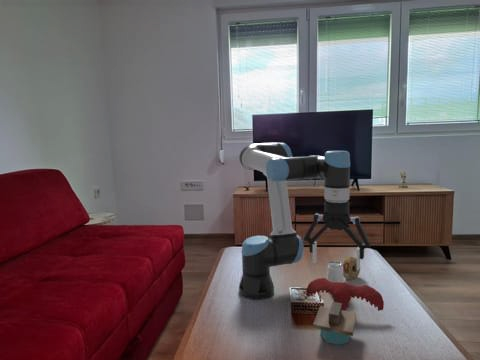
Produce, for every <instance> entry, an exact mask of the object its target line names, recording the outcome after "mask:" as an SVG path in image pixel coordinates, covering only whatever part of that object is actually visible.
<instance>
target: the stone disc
mask: <svg viewBox="0 0 480 360" xmlns="http://www.w3.org/2000/svg"><path fill="white" fill-rule="evenodd" d="M342 266H343V278H344V279H346V280H351V281H352V280H355V279H356V278H358V276H360V271H361V268H360V269H359V270H357V257H355V256H348V257H347V258H345V259H344V261H343V263H342Z"/></svg>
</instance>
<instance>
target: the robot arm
mask: <svg viewBox="0 0 480 360" xmlns="http://www.w3.org/2000/svg"><path fill="white" fill-rule="evenodd" d="M350 155H351V154H350V152H349V151H347V150H327V151H325V153H324V155H319V154H318V155H317V154H314V155H313V154H311V155H308V156H293V153H292V150H291V148H290V146H289V145H288V144H286V143H285V142H276V141H275V142H261V143H251V144H247V146H245V147H243V148H242V150H241V151H240V153H239V155H238V159H239V163H240V164H241V166H242V167H244V169H247V170H250V171H254V170H256V171H258V172H261V173H262V175H264V176H265V177H266V179H267V190H268V200H269V206H270V208H269V209H270V215H271V224H272V230H271V232H270V233H269V237H270V238H269V237H268V236H265V235H253V236H250V237H247V238H246V239H245V240H244V241H243V242H242V245H241V260H242V261H241V263H242V264H241V265H242V266H241V267H242V269H241V270H242V274H241V278H240V282H239V285H238V293H239V294H240V296H241V297H242V298H243V297H244V298H246V299H248V300H264V299H267V298H270V297H271V296H273V294H274V292H275V285H274V282H273V280H272V276H271V274H270V268H271V267H277V266H283V265H291V264H295V263H298V262H300V261H301V260H302V258H303V255H304V247H305V246H304V242H308V243H309V253H310V254H311V253H312V264H316V263H317V258H318V257H317V256H318V255H317V253H318V250H317V249H318V245H317V244H318V242H317V241H316V240H317V239H318V238H320V236H321V235H323V233H324V232H326V230H327V229H330V230H333V231H334V230H337V231H342V230H343V231H344V232H345V233H346V234H347V235H348V236H349V238H351V240H352V242H354V244H356V246H357V248H356V258H357V270H359V269H360V270H361V260H364V257H365V249H370V248H371V246H372V244H371V242H370V241H371V240H370V239H369V237H368V236H367V234H366V231H365V230H364V227H363V226H362V223H361V218H360V216H359V215H357V216H350V201H349V200H350V195H351V193H350V188H351V186H350V181H351V180H350V179H351V156H350ZM311 179H322V180H323V182H324V184H323V185H324V190H323V191H324V197H323V198H324V200H325V201H324V202H323V203H324V204H323V205H324V206H323V210H324V211H323V214H319V212H316V213H315V214H314V215H313V220H312V223H311V225H310V226H309V228H308V230H307V231H306V233H305V235H304V238H303V239H302V237H301V236H300V235H298V234H297V231H296V230H294V228H293V224H292V223H293V222H292V215H291V207H290V206H291V205H290V200H289V199H290V197H289V192H288V191H289V190H288V189H289V188H288V181H295V180H311ZM321 220H323V222H324V225H323V226H322V227H321V228H320V229H319V230H318V231H317V232H316V233H315V234H314V235H313V236H312V237H311V235H312V233H313V232H314V230H315V228H316V227H317V224H318V223H319V221H321ZM350 222H352V224H353V225H355V227H356V229H357V231H358V234H359V235H360V238H361V239H360V238H359V236H358V235H357V234H356V233H355V232H354V231H353V229H352V228H351V227H350V225H349V223H350ZM302 240H304V242H303V241H302Z"/></svg>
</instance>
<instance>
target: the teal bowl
mask: <svg viewBox="0 0 480 360" xmlns="http://www.w3.org/2000/svg"><path fill="white" fill-rule="evenodd" d="M320 337H321V338H322V339H323V340H325V342H326V343H330V344H333V345H337V346H340V345H344V344H347V343H349V341H350V338H351V336H349V335H344V334H340V333H335V332H331V331H326V330H321V329H320Z"/></svg>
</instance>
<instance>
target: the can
mask: <svg viewBox="0 0 480 360" xmlns="http://www.w3.org/2000/svg"><path fill="white" fill-rule="evenodd" d="M326 271H327V274H326V275H327V277H326V279H327V280H328V281H330V282H344V276H343V263H342V262H340V261H334V260H333V261H330V262H328V265H327V270H326Z"/></svg>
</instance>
